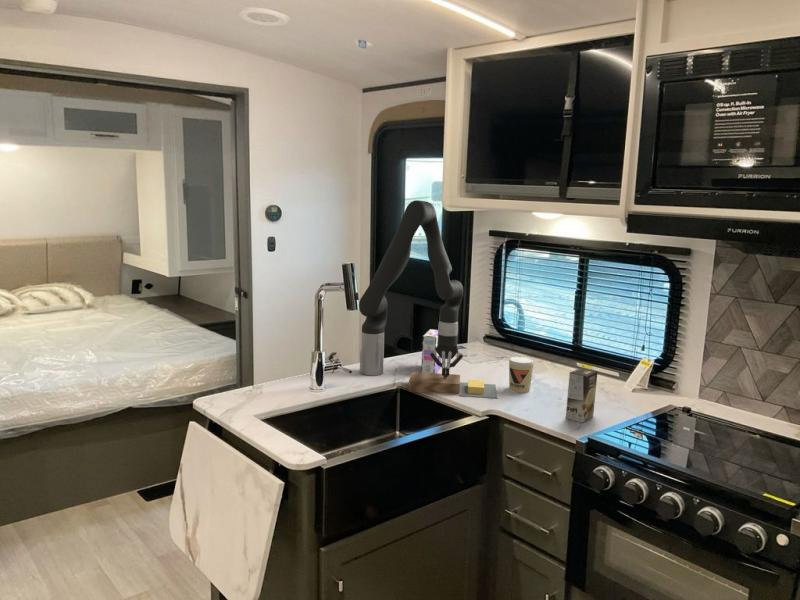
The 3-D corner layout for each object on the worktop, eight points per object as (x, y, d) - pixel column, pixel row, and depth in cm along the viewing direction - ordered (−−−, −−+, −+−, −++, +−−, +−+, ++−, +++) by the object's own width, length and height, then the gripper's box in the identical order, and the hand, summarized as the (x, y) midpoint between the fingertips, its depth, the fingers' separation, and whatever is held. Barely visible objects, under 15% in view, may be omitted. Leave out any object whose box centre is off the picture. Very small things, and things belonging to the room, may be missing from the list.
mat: (459, 396, 227) (459, 395, 227) (459, 383, 243) (459, 382, 243) (497, 398, 226) (497, 397, 226) (495, 385, 242) (495, 384, 242)
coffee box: (583, 423, 204) (587, 376, 202) (565, 418, 208) (568, 372, 206) (594, 416, 211) (598, 370, 209) (576, 411, 215) (580, 367, 213)
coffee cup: (503, 391, 235) (505, 360, 233) (511, 384, 243) (513, 355, 241) (527, 395, 231) (530, 364, 229) (534, 388, 239) (536, 358, 237)
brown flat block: (408, 391, 231) (408, 381, 231) (411, 381, 243) (411, 371, 242) (459, 394, 229) (459, 384, 229) (459, 384, 241) (460, 374, 240)
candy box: (434, 376, 252) (436, 336, 249) (420, 374, 253) (422, 335, 250) (441, 367, 265) (443, 329, 262) (428, 365, 266) (429, 328, 263)
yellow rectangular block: (484, 387, 229) (483, 394, 230) (483, 380, 238) (483, 386, 239) (468, 386, 230) (467, 393, 230) (468, 379, 239) (467, 385, 239)
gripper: (429, 334, 229) (427, 378, 232) (465, 336, 228) (462, 381, 231) (430, 329, 237) (428, 373, 240) (465, 331, 235) (462, 375, 239)
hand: (445, 376), depth 235 cm, fingers closed
